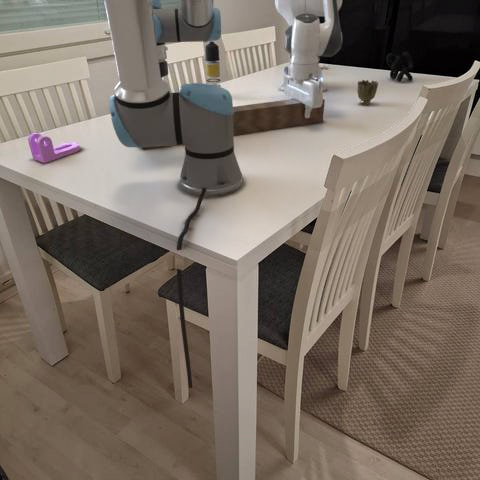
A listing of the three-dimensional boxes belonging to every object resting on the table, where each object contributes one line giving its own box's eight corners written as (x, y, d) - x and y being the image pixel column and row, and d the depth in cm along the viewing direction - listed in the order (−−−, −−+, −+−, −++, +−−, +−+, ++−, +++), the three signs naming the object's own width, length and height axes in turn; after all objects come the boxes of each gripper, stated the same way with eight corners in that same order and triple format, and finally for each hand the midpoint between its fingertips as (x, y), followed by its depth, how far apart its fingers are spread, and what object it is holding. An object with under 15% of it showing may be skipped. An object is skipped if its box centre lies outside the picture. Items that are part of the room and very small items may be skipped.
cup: (352, 105, 167) (355, 83, 163) (357, 100, 172) (360, 79, 168) (372, 107, 164) (375, 85, 160) (377, 102, 169) (380, 80, 165)
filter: (222, 96, 181) (219, 14, 165) (209, 97, 179) (205, 14, 164) (218, 93, 186) (215, 12, 170) (205, 94, 184) (200, 13, 168)
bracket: (44, 163, 123) (37, 138, 119) (33, 158, 126) (26, 134, 122) (83, 149, 132) (78, 126, 128) (72, 145, 135) (67, 122, 131)
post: (142, 149, 131) (138, 124, 127) (138, 143, 136) (135, 119, 132) (323, 122, 151) (324, 99, 147) (314, 117, 155) (316, 95, 151)
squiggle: (400, 92, 202) (376, 71, 205) (417, 76, 202) (392, 56, 205) (405, 81, 191) (380, 59, 194) (423, 64, 191) (397, 42, 194)
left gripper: (175, 65, 117) (183, 149, 129) (158, 54, 132) (167, 131, 144) (147, 68, 115) (157, 153, 127) (133, 56, 129) (144, 134, 142)
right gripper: (329, 76, 135) (326, 122, 142) (297, 65, 151) (295, 106, 158) (311, 79, 133) (308, 124, 140) (280, 66, 149) (279, 108, 156)
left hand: (162, 141), depth 135 cm, fingers closed on post, 5 cm apart
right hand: (301, 114), depth 149 cm, fingers closed on post, 5 cm apart
